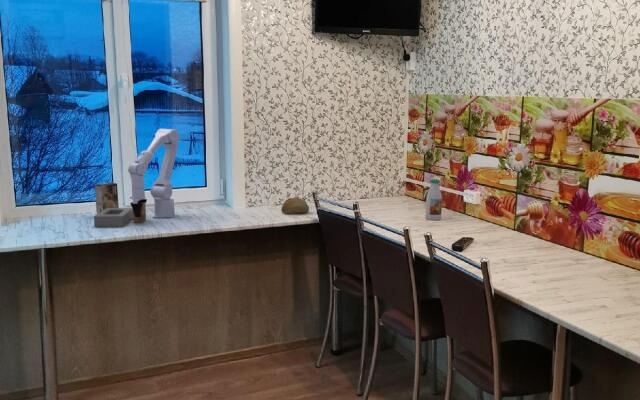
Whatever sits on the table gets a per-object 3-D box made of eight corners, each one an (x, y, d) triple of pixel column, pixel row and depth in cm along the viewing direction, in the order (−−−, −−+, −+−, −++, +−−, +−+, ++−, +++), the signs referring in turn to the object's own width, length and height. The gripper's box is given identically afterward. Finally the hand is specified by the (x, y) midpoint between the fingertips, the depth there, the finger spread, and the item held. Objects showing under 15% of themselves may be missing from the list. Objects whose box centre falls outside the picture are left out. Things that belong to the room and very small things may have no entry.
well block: (133, 217, 289) (133, 207, 288) (123, 226, 269) (122, 216, 269) (106, 217, 288) (106, 208, 287) (94, 227, 268) (93, 216, 268)
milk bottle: (423, 219, 291) (425, 180, 287) (428, 216, 297) (429, 178, 294) (438, 221, 287) (440, 181, 283) (442, 218, 294) (444, 179, 290)
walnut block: (146, 220, 283) (145, 202, 282) (143, 222, 278) (143, 204, 277) (135, 220, 283) (134, 202, 281) (133, 222, 278) (132, 204, 276)
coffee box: (112, 212, 300) (110, 182, 297) (119, 214, 297) (117, 183, 294) (96, 215, 293) (94, 184, 290) (103, 217, 289) (101, 185, 286)
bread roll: (278, 212, 305) (278, 197, 304) (305, 210, 311) (305, 195, 309) (284, 216, 297) (284, 200, 295) (311, 214, 302) (311, 198, 301)
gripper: (133, 185, 284) (134, 212, 287) (125, 190, 270) (127, 218, 273) (147, 185, 285) (149, 212, 287) (141, 190, 271) (142, 218, 273)
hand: (139, 215), depth 280 cm, fingers open, 6 cm apart
